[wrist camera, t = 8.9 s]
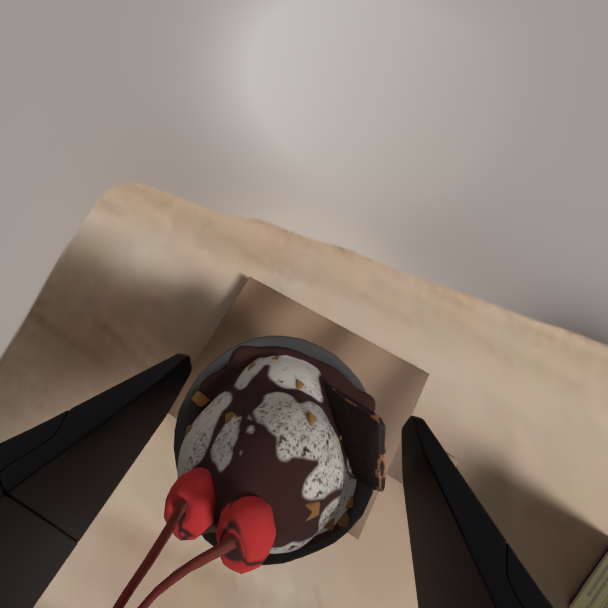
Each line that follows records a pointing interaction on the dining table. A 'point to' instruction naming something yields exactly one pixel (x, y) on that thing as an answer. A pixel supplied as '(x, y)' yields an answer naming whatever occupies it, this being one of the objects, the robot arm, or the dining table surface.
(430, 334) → the dining table surface
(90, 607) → the dining table surface
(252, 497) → the sundae
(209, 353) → the board
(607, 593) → the box
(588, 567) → the dining table surface
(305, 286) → the dining table surface
